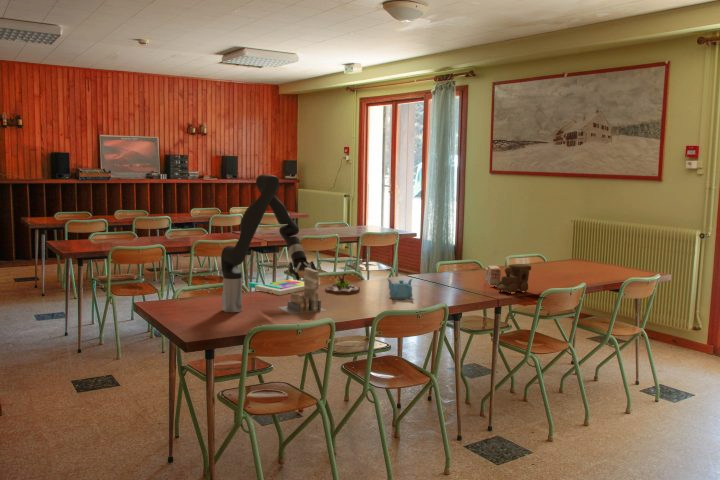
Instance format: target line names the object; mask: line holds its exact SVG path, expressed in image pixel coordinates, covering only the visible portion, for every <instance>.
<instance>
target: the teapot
mask: <svg viewBox="0 0 720 480" xmlns="http://www.w3.org/2000/svg"><path fill="white" fill-rule="evenodd" d="M386 280H387V281H388V290H389V296H390V297H391V298H392V299H395V300H408V299H410V298H413V295H414V294H413V286H412V281H413V278H411V279H409V280H408V282H405V281H404V280H403V279H399V280H398V281H395V282H394V283H392V280H391V279H390V278H386Z"/></svg>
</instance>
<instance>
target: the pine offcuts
mask: <svg viewBox="0 0 720 480" xmlns="http://www.w3.org/2000/svg"><path fill="white" fill-rule="evenodd" d="M290 302H292V303H294V304H296V305H298V306H300V312H303V311H309V298H307V297H305V296H304V294H303V295H302V294H301V293H299V294H298V293H297V294H296V293H295V292H294V293H290Z"/></svg>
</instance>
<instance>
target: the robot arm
mask: <svg viewBox="0 0 720 480" xmlns="http://www.w3.org/2000/svg"><path fill="white" fill-rule="evenodd" d="M255 184H256V185H255V186H256V188H257V190H258V192H259V193H260V194H259V196H258V198H257V199H256V200H255V201H254V202H252V203H251V204H250V205H249V206H248V207H247V208H246V210H245V211H244V214H243V215H242V217H241V220H240V224H239V225H240V227H239V228H240V230H239V231H240V233H239V237H238V240H237V242H236V245H226V246H225V247H223V249H222V250H221V256H220V259H221V260H220V261H221V264H220V265H221V272H222V275H223V279H222V280H223V285H222V286H223V290H222V292H221V310H222V311H223V312H224V313H240V312H242V310H243V309H242V308H243V306H242V305H243V304H242V303H243V302H242V300H243V292H242V291H243V273H242V271H241V270H240V269H239V268H238V266H239V265H241V264H243V262H244V261H245V259H246V256H247V254H248V251H249V249H250V245H251V243H252V240H253V238H254V236H255V234H256V232H257V230H258V227H259V226H260V223H261V221H262V219H263V217H264V215H265V213H266V211H267V209H268V207H270V209H271V211H272V212H273V215H274V217H275V218H276V221H277V222H278V224H279V225H282V226H281V227H280V228H279V230H278V231H279V235H280V236H281V238H282V239H283V240H284V241H285V243H286V245H287V248H288V252H289V256H290V258H291V261H292V262H289V264H288V265H287V266H288V270H289V274H291V275H294V278H295V280H297V281H300V279H301V278H300V275H299V272H300V271H303V272H304V271H305V268H311V269H313V270H316V271H317V268H316V266H315V263H314V261H313V260H311V261H310V262H308V260H307V256H306V254H305V251H304V248H303V247H302V243H301V241H300V238H299V237H297V236H295V235H298V234H299V231H300V229H299V228H300V227H299V226H298V224H297V223H296V222H295V221H294V220H293V219H292V217H290V214H289V212H288V210H287V208H286V206H285V205H284V203H283V202H282V201H281V200H279V198H278V197H277V196H276V195H275V194H276V193H277V191H278V189H279V188H280V179H279V177H277V176H276V175H272V174H260V175H258V177H257V178H256V181H255ZM294 268H295V269H294ZM298 271H299V272H298Z"/></svg>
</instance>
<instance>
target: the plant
mask: <svg viewBox="0 0 720 480" xmlns="http://www.w3.org/2000/svg"><path fill="white" fill-rule="evenodd" d="M345 276H346V277H349V273H344V274H343V275H342V277H341V276H340V275H335V276H334V279H337V277H338V279H337V280H336V281H334V283H335V284H330V285H328V286H326V287H325V289H324V291H325V293H327V294H332V295H346V296H348V295H349V296H350V295H356V294H358V293H360V290H361V287H360V286H357V285H354V284H351V281H350V280H349V281H347V282H346V281H345Z"/></svg>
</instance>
